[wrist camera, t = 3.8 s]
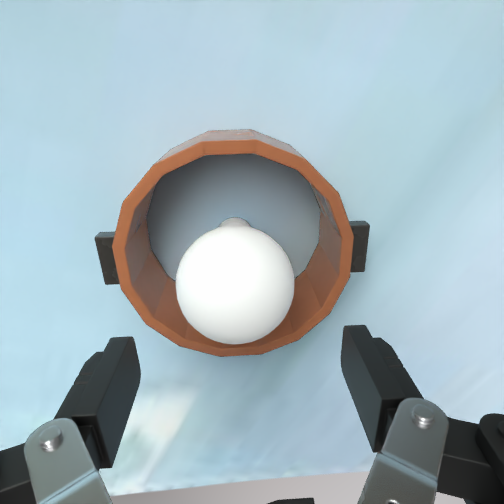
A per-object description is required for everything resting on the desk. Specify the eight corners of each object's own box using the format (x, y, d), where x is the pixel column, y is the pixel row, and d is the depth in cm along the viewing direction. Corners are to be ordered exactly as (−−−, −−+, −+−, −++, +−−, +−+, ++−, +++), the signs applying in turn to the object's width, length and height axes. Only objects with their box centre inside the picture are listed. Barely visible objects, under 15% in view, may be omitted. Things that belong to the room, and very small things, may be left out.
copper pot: (136, 315, 28) (115, 363, 23) (101, 134, 22) (63, 146, 17) (339, 304, 29) (362, 349, 24) (354, 125, 23) (389, 134, 18)
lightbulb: (200, 272, 27) (181, 378, 17) (185, 194, 24) (151, 265, 14) (280, 261, 27) (308, 362, 17) (272, 183, 24) (300, 246, 14)
